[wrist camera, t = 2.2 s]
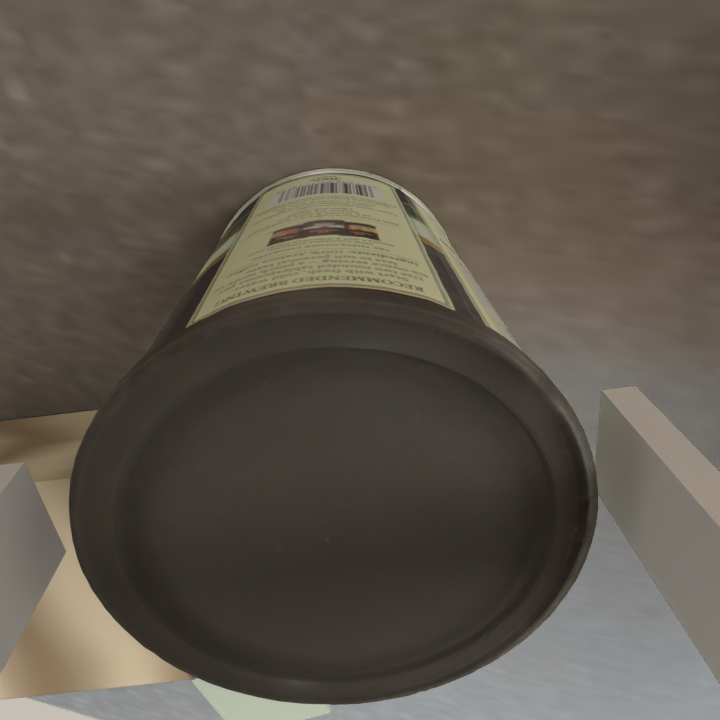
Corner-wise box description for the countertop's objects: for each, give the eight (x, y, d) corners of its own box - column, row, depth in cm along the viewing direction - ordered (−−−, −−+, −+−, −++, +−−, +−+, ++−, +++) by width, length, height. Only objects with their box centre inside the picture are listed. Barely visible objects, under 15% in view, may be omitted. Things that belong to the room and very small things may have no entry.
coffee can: (295, 437, 27) (260, 759, 14) (159, 248, 23) (-61, 470, 10) (499, 339, 25) (663, 611, 12) (391, 112, 21) (476, 178, 8)
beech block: (149, 403, 26) (110, 473, 21) (211, 592, 31) (190, 679, 27) (-113, 434, 26) (-205, 509, 22) (-7, 616, 31) (-63, 706, 27)
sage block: (295, 566, 31) (288, 651, 26) (331, 625, 33) (330, 712, 28) (211, 593, 31) (190, 680, 27) (252, 649, 34) (239, 737, 29)
